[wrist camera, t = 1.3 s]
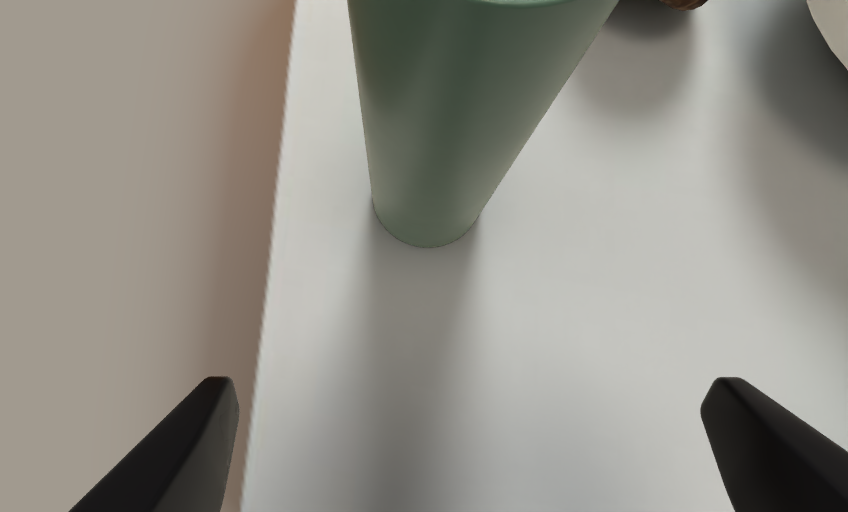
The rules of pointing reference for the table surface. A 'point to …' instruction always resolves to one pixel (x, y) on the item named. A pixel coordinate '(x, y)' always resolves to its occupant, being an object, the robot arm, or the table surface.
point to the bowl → (832, 24)
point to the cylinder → (457, 99)
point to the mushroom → (684, 4)
